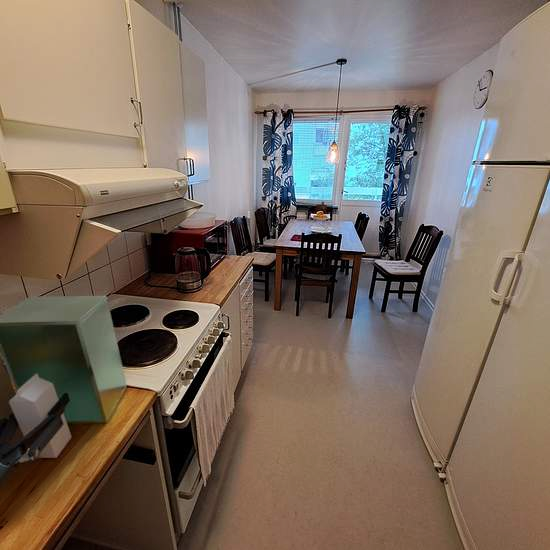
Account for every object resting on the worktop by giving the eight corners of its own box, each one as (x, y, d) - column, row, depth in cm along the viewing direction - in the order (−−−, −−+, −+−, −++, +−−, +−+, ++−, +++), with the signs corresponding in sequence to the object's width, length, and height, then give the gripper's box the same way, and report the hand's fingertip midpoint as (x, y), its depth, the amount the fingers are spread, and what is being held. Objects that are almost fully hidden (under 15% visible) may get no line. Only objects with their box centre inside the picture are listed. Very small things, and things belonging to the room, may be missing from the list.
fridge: (107, 422, 82) (78, 320, 70) (30, 425, 81) (-13, 322, 68) (127, 386, 95) (106, 295, 82) (61, 389, 94) (30, 296, 81)
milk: (33, 458, 72) (2, 391, 64) (50, 436, 78) (24, 372, 70) (57, 458, 72) (29, 391, 64) (72, 436, 78) (49, 372, 70)
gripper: (-73, 506, 55) (19, 409, 76) (33, 500, 56) (94, 406, 77) (-91, 481, 52) (10, 387, 73) (20, 475, 53) (88, 385, 75)
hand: (53, 397), depth 75 cm, fingers closed on milk, 6 cm apart
